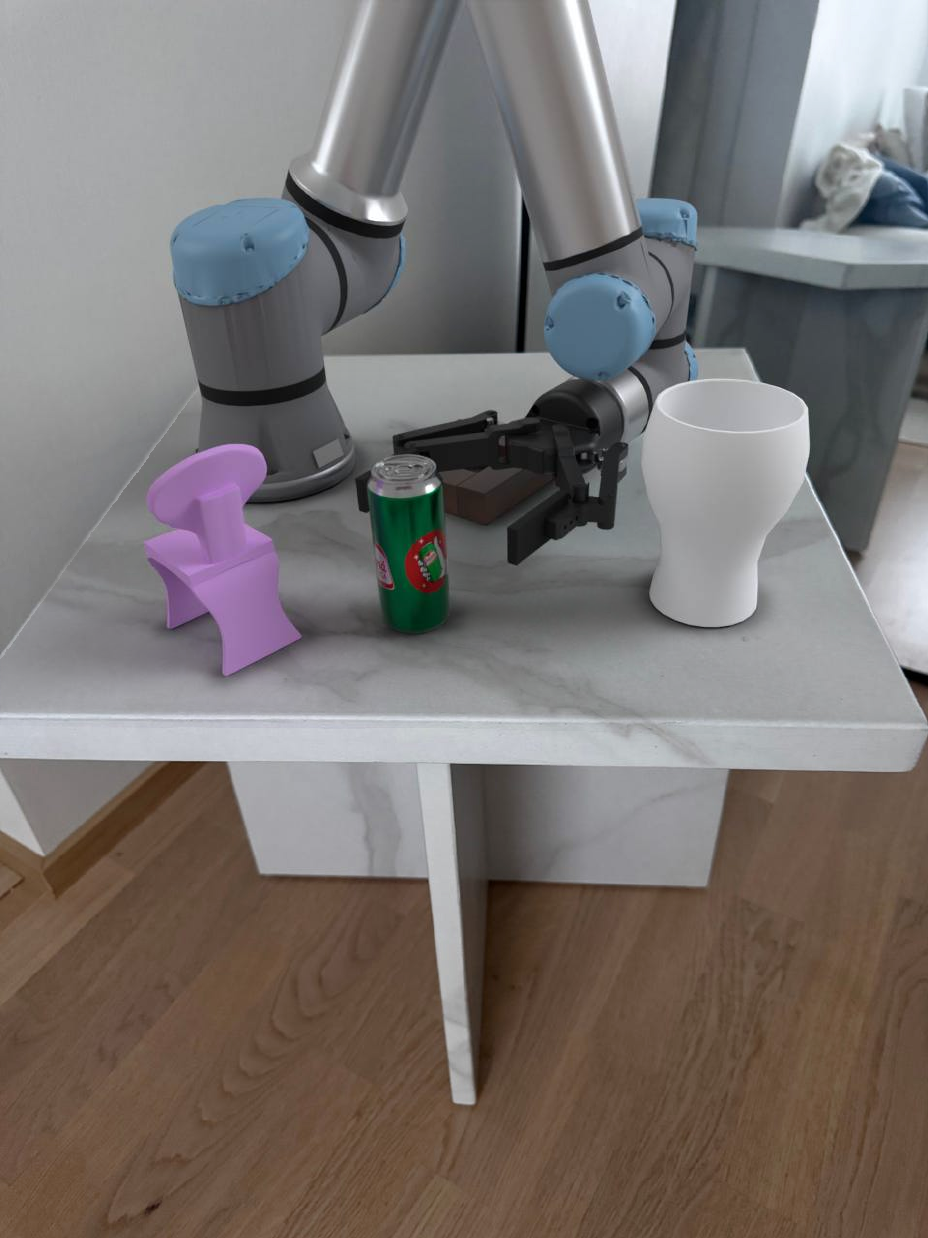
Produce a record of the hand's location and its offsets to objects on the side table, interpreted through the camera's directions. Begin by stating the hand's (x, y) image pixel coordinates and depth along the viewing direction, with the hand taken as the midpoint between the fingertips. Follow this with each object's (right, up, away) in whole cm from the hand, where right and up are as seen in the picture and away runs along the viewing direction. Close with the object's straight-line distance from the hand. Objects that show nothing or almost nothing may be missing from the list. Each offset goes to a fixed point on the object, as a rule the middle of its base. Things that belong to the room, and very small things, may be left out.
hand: (431, 520), depth 61 cm
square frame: (+3, +6, +21) cm, 22 cm away
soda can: (-1, -7, +3) cm, 8 cm away
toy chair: (-15, -8, +2) cm, 17 cm away
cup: (+20, -6, +4) cm, 21 cm away
